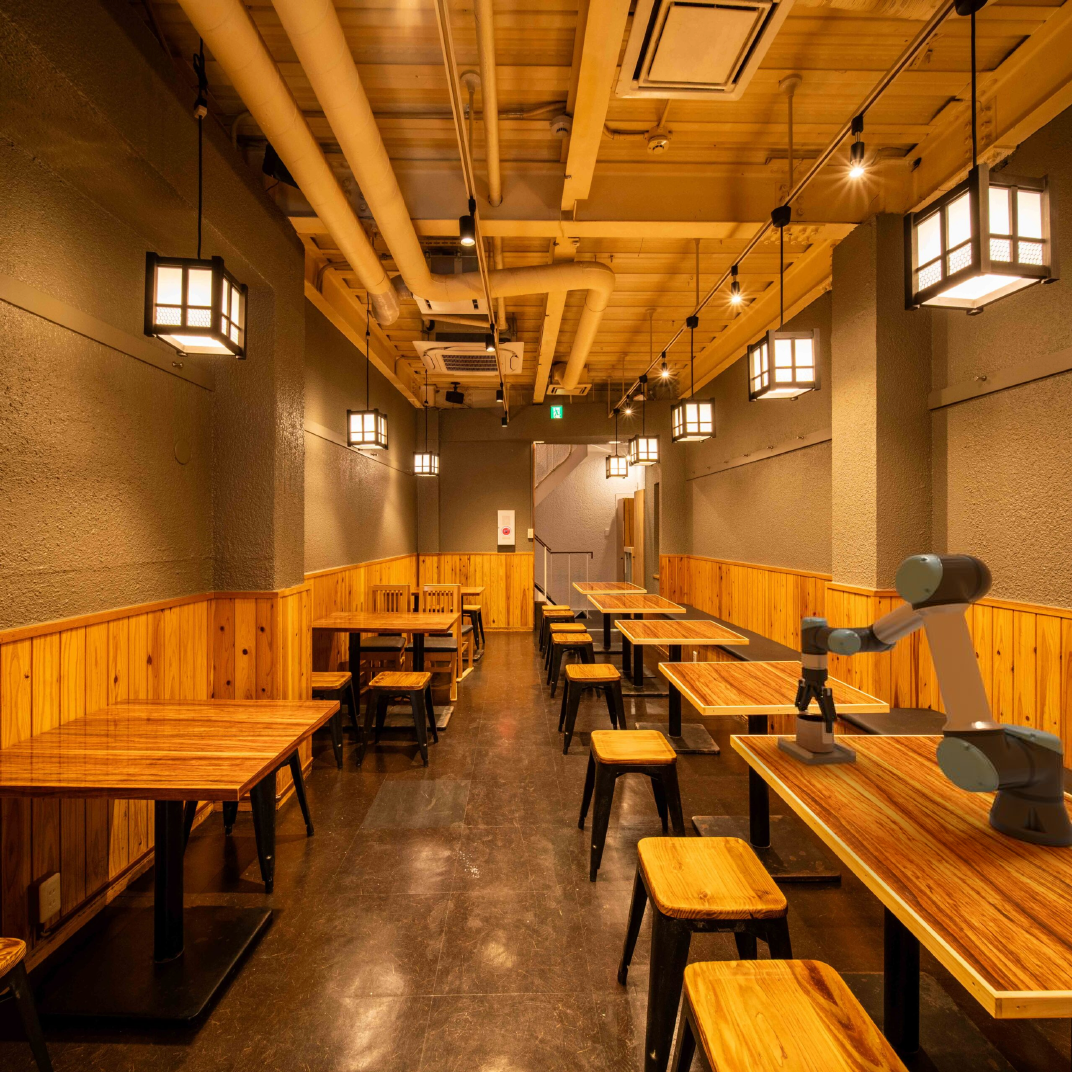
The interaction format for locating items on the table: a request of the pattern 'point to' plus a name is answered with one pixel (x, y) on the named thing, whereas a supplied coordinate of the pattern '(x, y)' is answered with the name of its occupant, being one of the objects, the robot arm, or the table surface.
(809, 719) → the planter
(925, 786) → the table surface
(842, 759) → the grey square tray
